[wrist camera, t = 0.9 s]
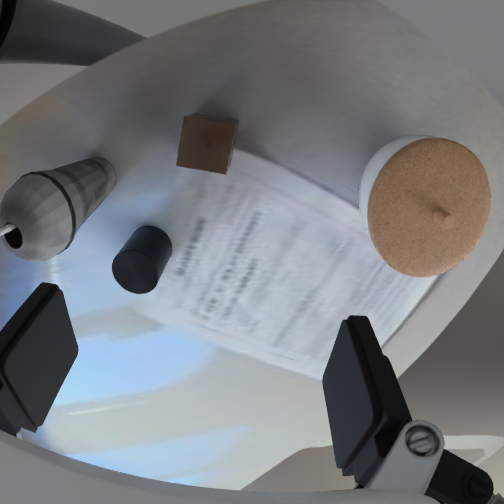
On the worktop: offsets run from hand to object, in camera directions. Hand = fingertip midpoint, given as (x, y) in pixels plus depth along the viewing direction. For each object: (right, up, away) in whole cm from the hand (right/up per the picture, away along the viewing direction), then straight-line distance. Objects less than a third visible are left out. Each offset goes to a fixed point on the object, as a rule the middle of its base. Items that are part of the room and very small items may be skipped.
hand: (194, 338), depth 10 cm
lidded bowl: (+18, +10, +22) cm, 30 cm away
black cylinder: (-10, +3, +26) cm, 28 cm away
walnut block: (-2, +14, +20) cm, 25 cm away
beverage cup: (-15, +11, +22) cm, 29 cm away
